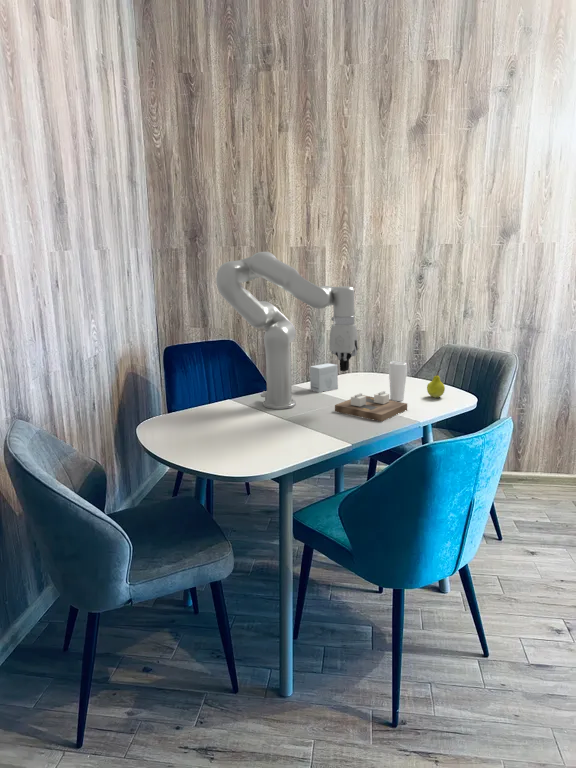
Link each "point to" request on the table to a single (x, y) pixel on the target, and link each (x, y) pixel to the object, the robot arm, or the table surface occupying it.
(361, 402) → the front tab
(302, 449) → the table surface
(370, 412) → the switch board
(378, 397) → the tab
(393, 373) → the drinking glass
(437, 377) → the fruit
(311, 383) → the skincare box
